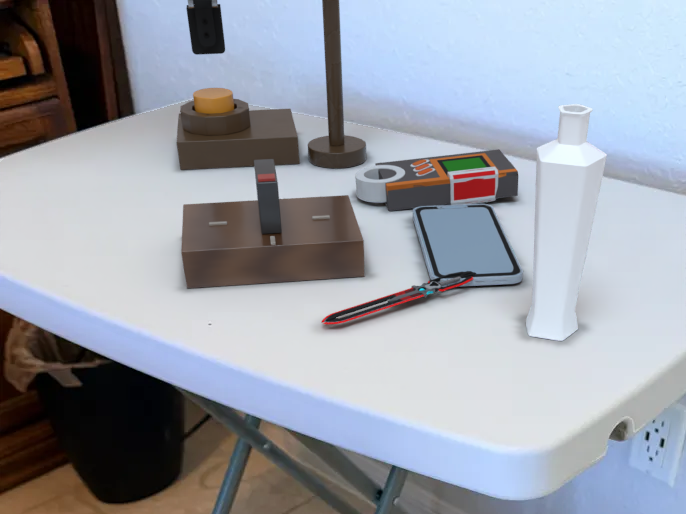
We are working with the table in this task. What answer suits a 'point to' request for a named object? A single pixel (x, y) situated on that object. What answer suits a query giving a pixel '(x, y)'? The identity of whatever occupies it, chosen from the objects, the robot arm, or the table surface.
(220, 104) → the power button
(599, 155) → the white vase
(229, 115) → the button base
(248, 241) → the panel
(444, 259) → the smartphone
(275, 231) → the dimmer knob
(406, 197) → the electronic device
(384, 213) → the table surface
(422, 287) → the toy sword
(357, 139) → the lamp
